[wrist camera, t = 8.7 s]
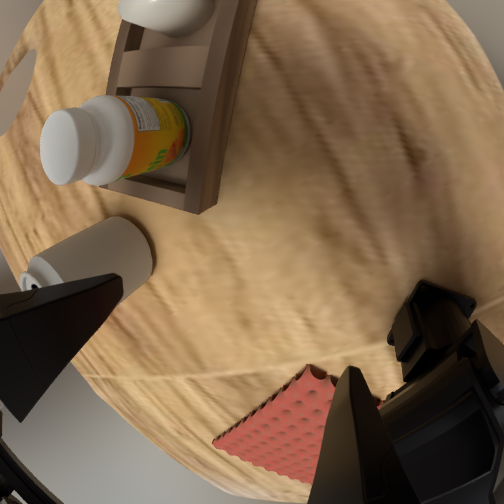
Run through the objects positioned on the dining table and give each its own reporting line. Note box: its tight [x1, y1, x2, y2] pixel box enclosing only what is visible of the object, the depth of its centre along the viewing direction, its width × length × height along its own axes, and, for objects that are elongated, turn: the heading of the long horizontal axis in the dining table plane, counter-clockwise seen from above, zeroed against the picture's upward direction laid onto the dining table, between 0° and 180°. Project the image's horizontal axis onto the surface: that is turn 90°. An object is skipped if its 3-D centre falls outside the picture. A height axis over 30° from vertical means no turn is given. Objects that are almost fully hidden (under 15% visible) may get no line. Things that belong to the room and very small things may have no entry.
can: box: [20, 216, 152, 305], centre depth 21 cm, size 8×8×12 cm
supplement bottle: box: [40, 95, 191, 185], centre depth 14 cm, size 5×5×10 cm
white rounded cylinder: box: [118, 0, 215, 38], centre depth 12 cm, size 5×5×5 cm
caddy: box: [99, 0, 257, 215], centre depth 16 cm, size 10×20×3 cm, turn 169°
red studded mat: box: [212, 364, 384, 485], centre depth 31 cm, size 28×28×2 cm
